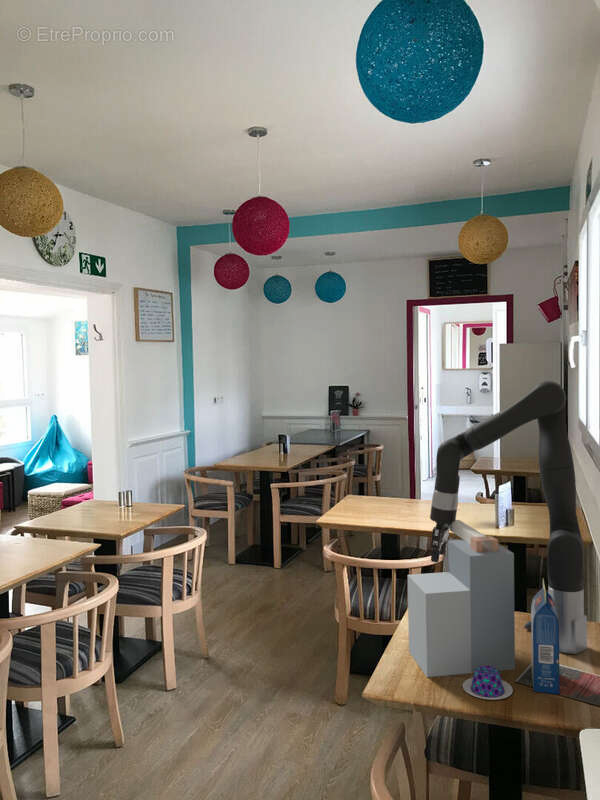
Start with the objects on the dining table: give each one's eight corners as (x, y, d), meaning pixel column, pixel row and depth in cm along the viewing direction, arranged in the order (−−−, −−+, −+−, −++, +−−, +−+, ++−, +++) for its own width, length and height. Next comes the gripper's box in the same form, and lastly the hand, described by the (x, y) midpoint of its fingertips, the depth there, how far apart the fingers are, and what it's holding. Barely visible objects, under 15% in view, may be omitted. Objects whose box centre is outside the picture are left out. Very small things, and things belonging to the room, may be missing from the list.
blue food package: (556, 672, 176) (555, 578, 175) (560, 694, 164) (559, 593, 163) (531, 670, 178) (530, 576, 176) (532, 691, 166) (531, 591, 165)
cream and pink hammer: (498, 550, 179) (497, 539, 179) (476, 552, 179) (476, 541, 179) (464, 529, 203) (464, 519, 203) (444, 530, 202) (444, 520, 202)
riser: (515, 669, 178) (513, 553, 177) (427, 677, 175) (425, 559, 174) (490, 644, 194) (488, 538, 193) (408, 651, 191) (406, 543, 190)
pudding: (460, 698, 165) (459, 677, 164) (465, 676, 176) (465, 657, 176) (511, 705, 160) (511, 684, 160) (513, 682, 172) (513, 662, 171)
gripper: (452, 513, 195) (445, 567, 197) (461, 503, 208) (454, 554, 210) (426, 508, 198) (419, 561, 199) (437, 498, 211) (430, 549, 212)
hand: (437, 557), depth 204 cm, fingers open, 8 cm apart
